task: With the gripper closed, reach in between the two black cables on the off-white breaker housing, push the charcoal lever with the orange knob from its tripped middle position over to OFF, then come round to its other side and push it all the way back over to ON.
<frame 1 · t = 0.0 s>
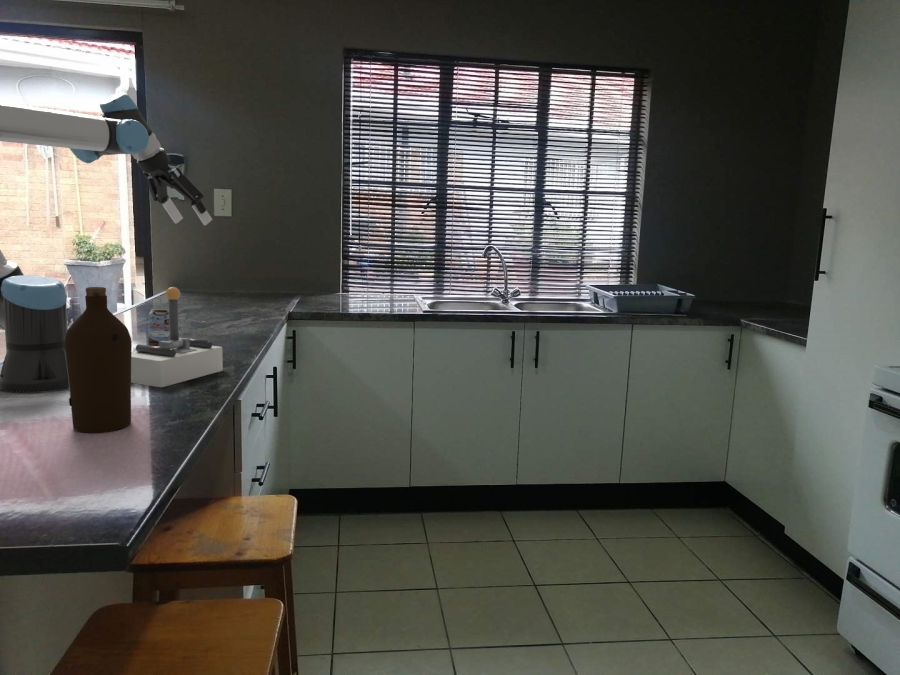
hand: (193, 221, 189), 36 cm above the countertop, tool tilted 35°, fingers open, 13 cm apart
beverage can: (161, 351, 189), on the countertop
olive oil: (102, 426, 123), on the countertop
breaker housing: (175, 374, 163), on the countertop
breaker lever: (173, 317, 161), point 14 cm above the countertop, hinge at 0.0°
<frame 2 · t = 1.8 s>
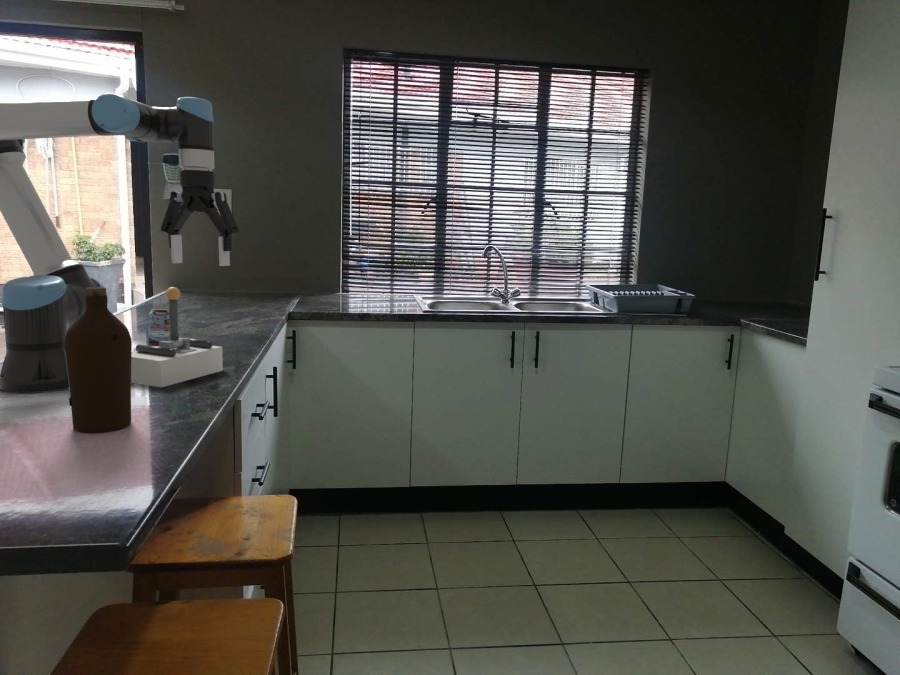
hand: (200, 264, 157), 27 cm above the countertop, tool pointing down, fingers open, 13 cm apart
nothing on the countertop moved.
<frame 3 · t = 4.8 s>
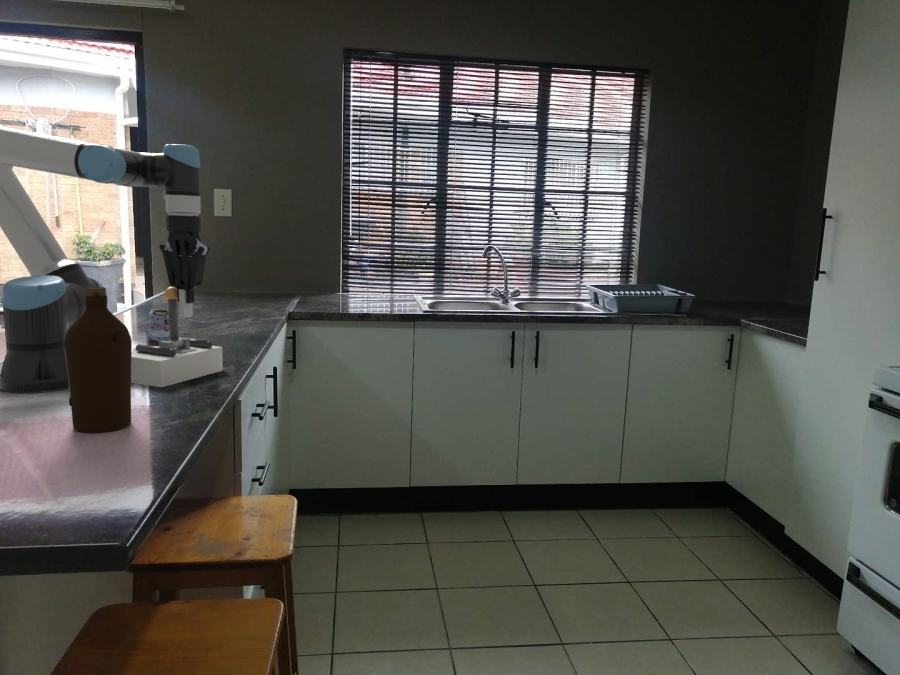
hand: (186, 316, 159), 14 cm above the countertop, tool pointing down, fingers closed
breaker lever: (173, 317, 161), point 14 cm above the countertop, hinge at -1.4°, touching gripper
everything else where it was.
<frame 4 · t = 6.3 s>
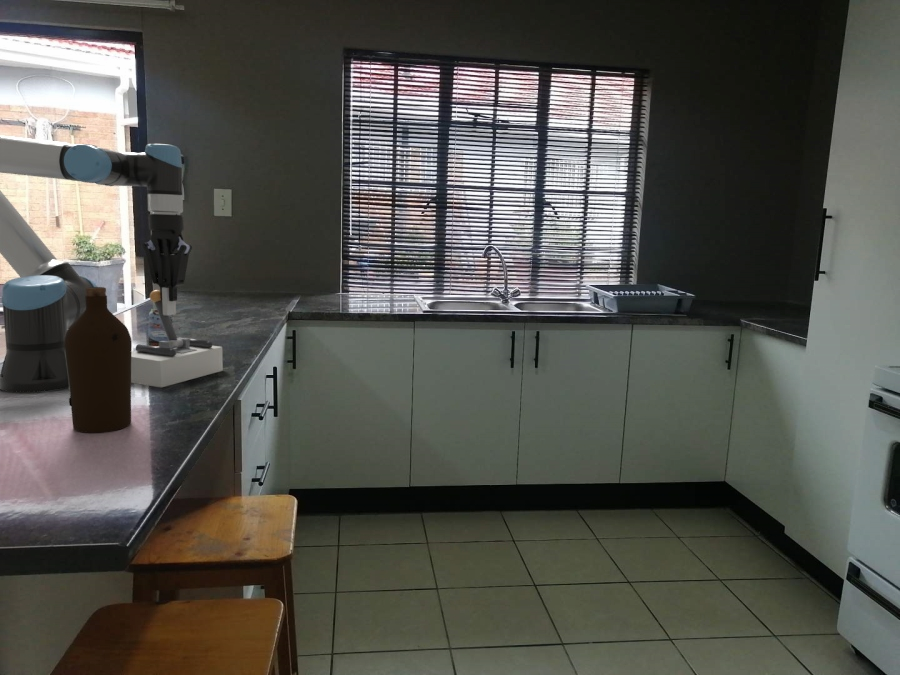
hand: (169, 314, 161), 14 cm above the countertop, tool pointing down, fingers closed
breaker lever: (165, 319, 162), point 13 cm above the countertop, hinge at -24.1°, touching gripper
everything else where it was.
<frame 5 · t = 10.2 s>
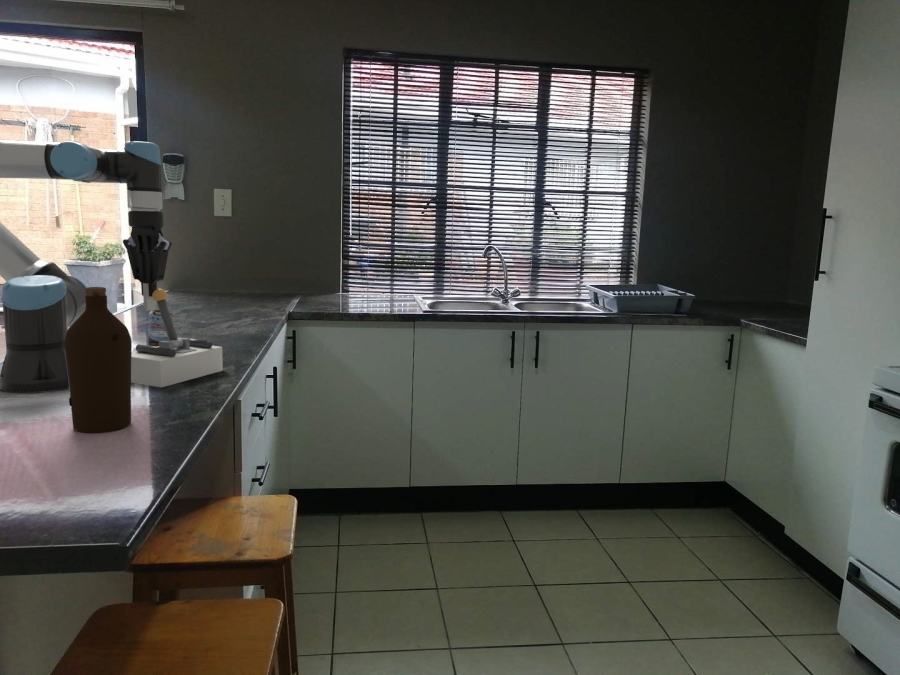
hand: (150, 309, 163), 15 cm above the countertop, tool pointing down, fingers closed
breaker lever: (166, 318, 161), point 13 cm above the countertop, hinge at -20.0°, touching gripper
everything else where it was.
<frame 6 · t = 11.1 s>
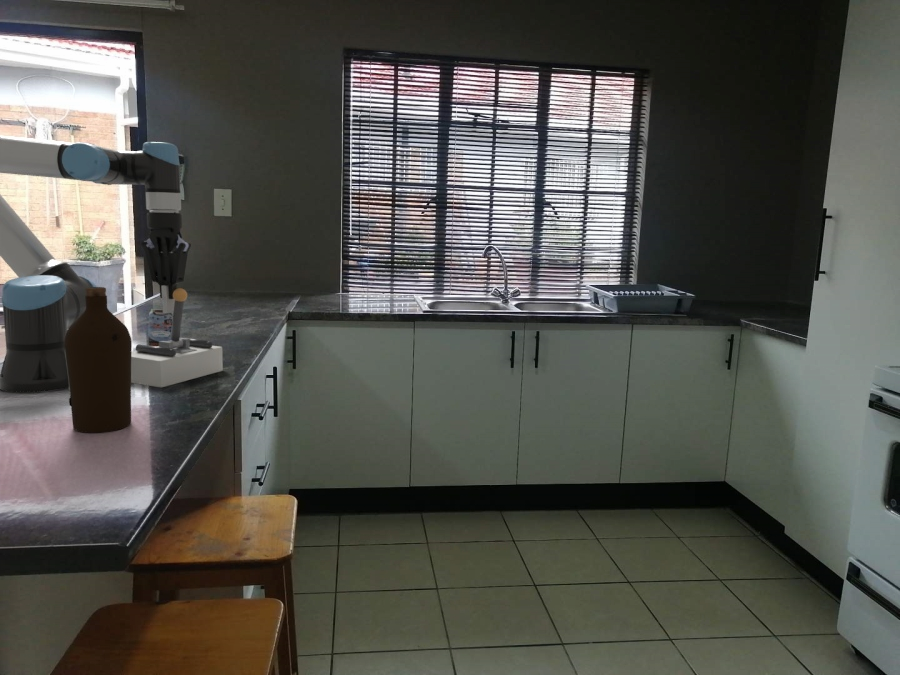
hand: (169, 312, 161), 15 cm above the countertop, tool pointing down, fingers closed
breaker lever: (177, 318, 160), point 14 cm above the countertop, hinge at 10.3°, touching gripper
everything else where it was.
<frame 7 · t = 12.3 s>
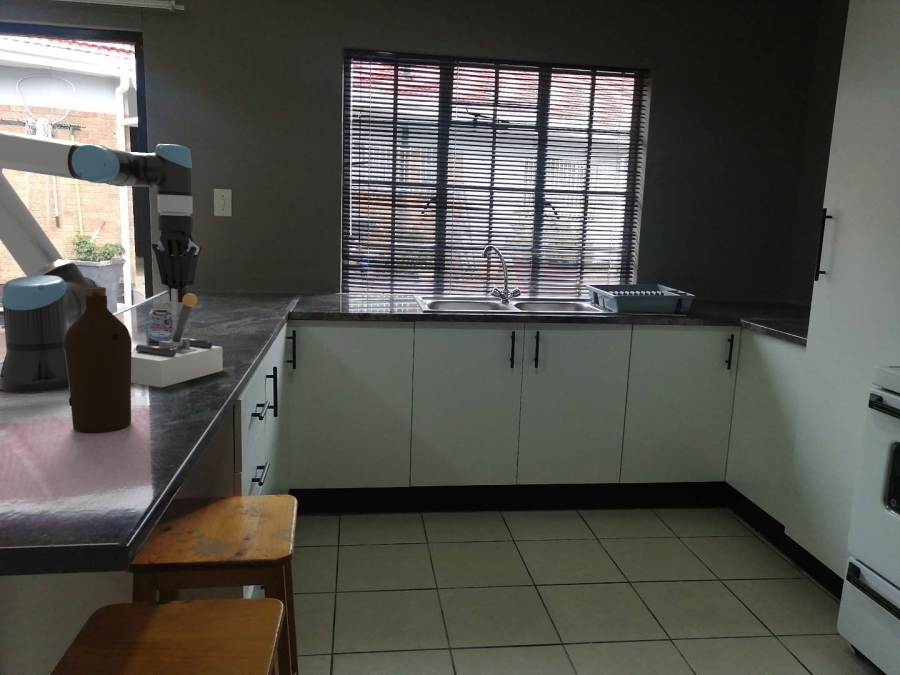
hand: (178, 315, 160), 14 cm above the countertop, tool pointing down, fingers closed
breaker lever: (182, 321, 160), point 13 cm above the countertop, hinge at 24.7°, touching gripper
everything else where it was.
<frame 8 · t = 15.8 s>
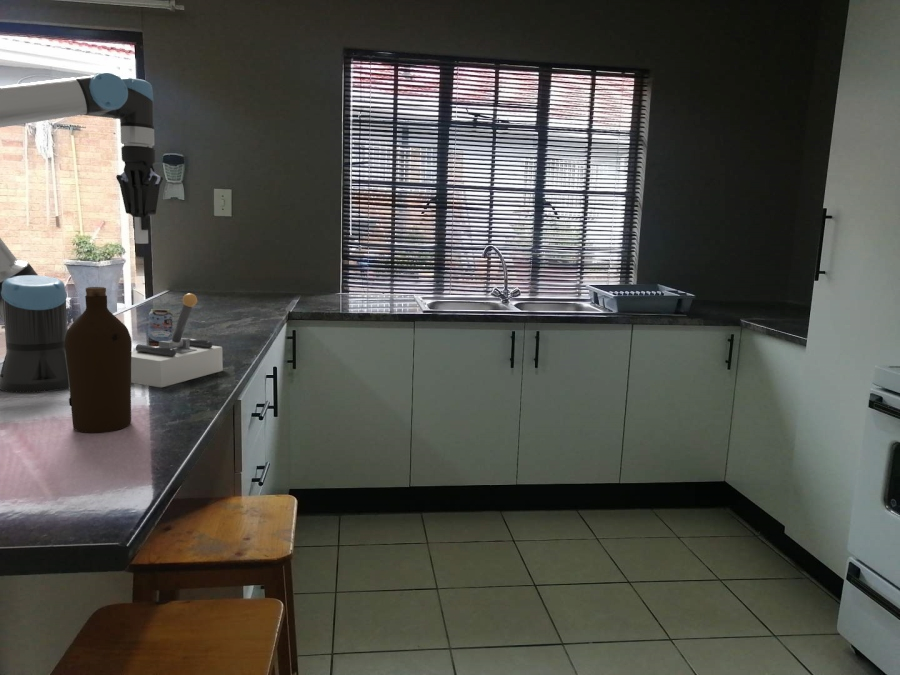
hand: (141, 243, 170), 30 cm above the countertop, tool pointing down, fingers closed
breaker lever: (182, 321, 160), point 13 cm above the countertop, hinge at 24.8°
everything else where it was.
at the end: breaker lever at +25° (first picture: +0°); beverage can moved 0.2 cm from its start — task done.
